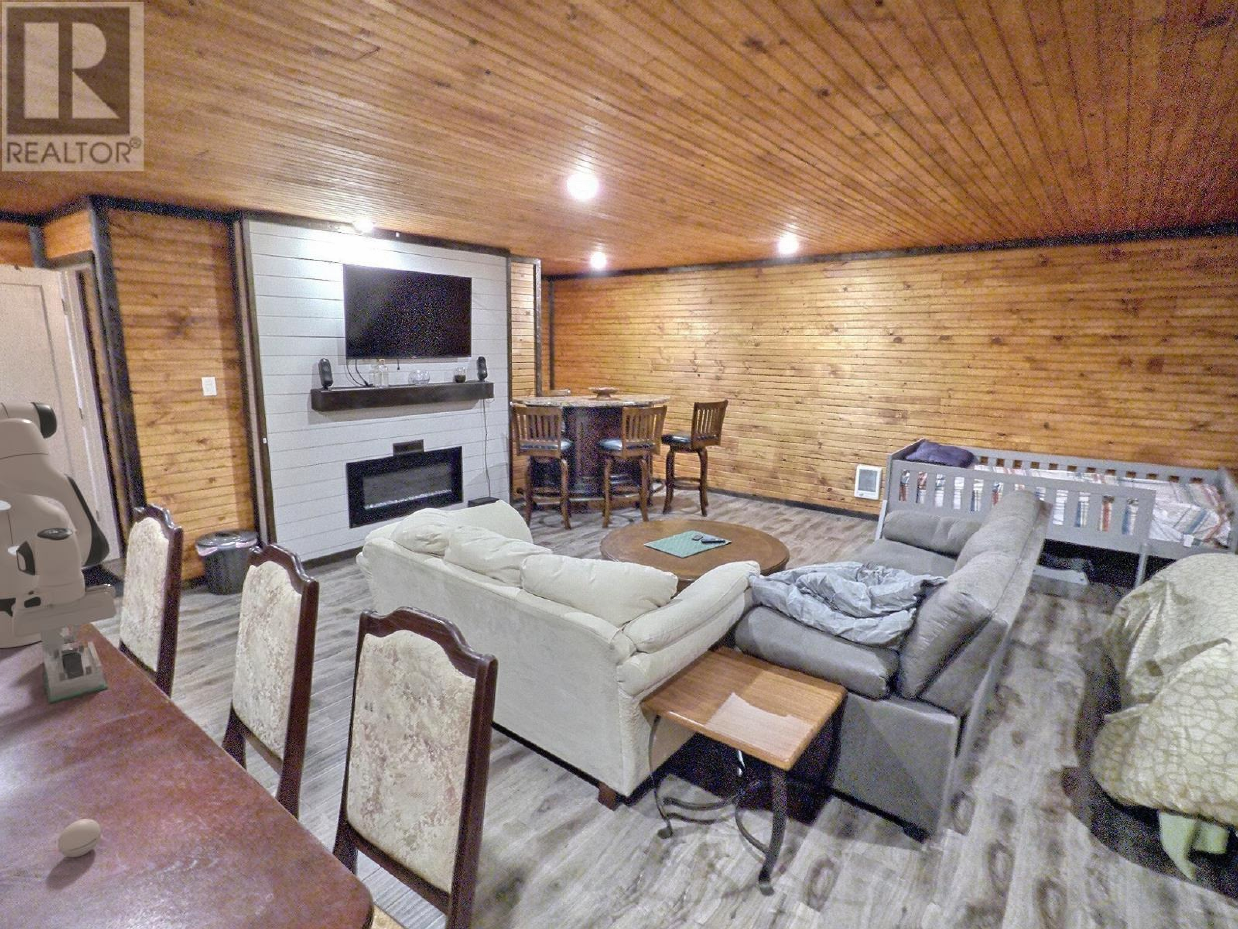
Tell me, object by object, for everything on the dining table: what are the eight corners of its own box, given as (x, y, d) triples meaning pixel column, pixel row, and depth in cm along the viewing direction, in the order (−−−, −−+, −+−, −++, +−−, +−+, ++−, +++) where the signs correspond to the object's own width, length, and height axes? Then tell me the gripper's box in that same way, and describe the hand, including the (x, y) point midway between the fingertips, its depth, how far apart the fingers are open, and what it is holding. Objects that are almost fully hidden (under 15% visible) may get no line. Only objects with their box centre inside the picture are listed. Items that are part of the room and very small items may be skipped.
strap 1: (61, 654, 167) (61, 651, 167) (76, 651, 169) (75, 647, 169) (63, 654, 161) (62, 650, 162) (78, 651, 164) (77, 647, 164)
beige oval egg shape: (57, 871, 103) (53, 840, 102) (61, 849, 108) (58, 820, 107) (117, 850, 108) (113, 821, 107) (118, 830, 112) (115, 802, 111)
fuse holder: (43, 673, 166) (39, 649, 165) (96, 660, 174) (94, 637, 173) (49, 704, 152) (45, 679, 150) (107, 688, 159) (104, 664, 158)
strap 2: (83, 674, 157) (83, 671, 157) (67, 678, 155) (67, 675, 155) (79, 654, 162) (79, 652, 161) (64, 658, 159) (63, 655, 159)
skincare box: (52, 656, 176) (47, 615, 174) (72, 653, 177) (66, 613, 175) (43, 665, 170) (38, 624, 168) (64, 663, 172) (58, 621, 170)
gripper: (112, 579, 170) (118, 627, 172) (7, 598, 156) (15, 650, 158) (116, 585, 166) (121, 634, 168) (8, 605, 151) (16, 659, 154)
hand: (69, 642), depth 163 cm, fingers closed
